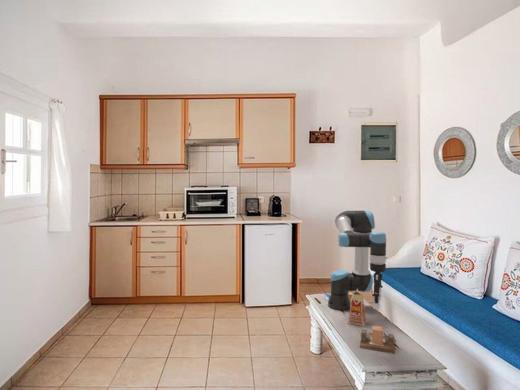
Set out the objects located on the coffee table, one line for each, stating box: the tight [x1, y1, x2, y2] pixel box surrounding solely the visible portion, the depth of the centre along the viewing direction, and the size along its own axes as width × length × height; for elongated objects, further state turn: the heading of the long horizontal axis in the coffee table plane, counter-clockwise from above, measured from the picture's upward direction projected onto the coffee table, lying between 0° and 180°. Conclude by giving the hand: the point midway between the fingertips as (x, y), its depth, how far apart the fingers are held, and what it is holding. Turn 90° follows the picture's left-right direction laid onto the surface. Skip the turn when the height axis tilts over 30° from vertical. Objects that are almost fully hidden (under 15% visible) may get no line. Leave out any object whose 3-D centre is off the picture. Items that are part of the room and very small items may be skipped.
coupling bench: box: [359, 329, 396, 354], centre depth 172 cm, size 16×16×6 cm
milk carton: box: [347, 289, 367, 327], centre depth 199 cm, size 9×9×20 cm
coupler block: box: [371, 325, 384, 345], centre depth 171 cm, size 5×5×7 cm
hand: (377, 304), depth 170 cm, fingers open, 13 cm apart
